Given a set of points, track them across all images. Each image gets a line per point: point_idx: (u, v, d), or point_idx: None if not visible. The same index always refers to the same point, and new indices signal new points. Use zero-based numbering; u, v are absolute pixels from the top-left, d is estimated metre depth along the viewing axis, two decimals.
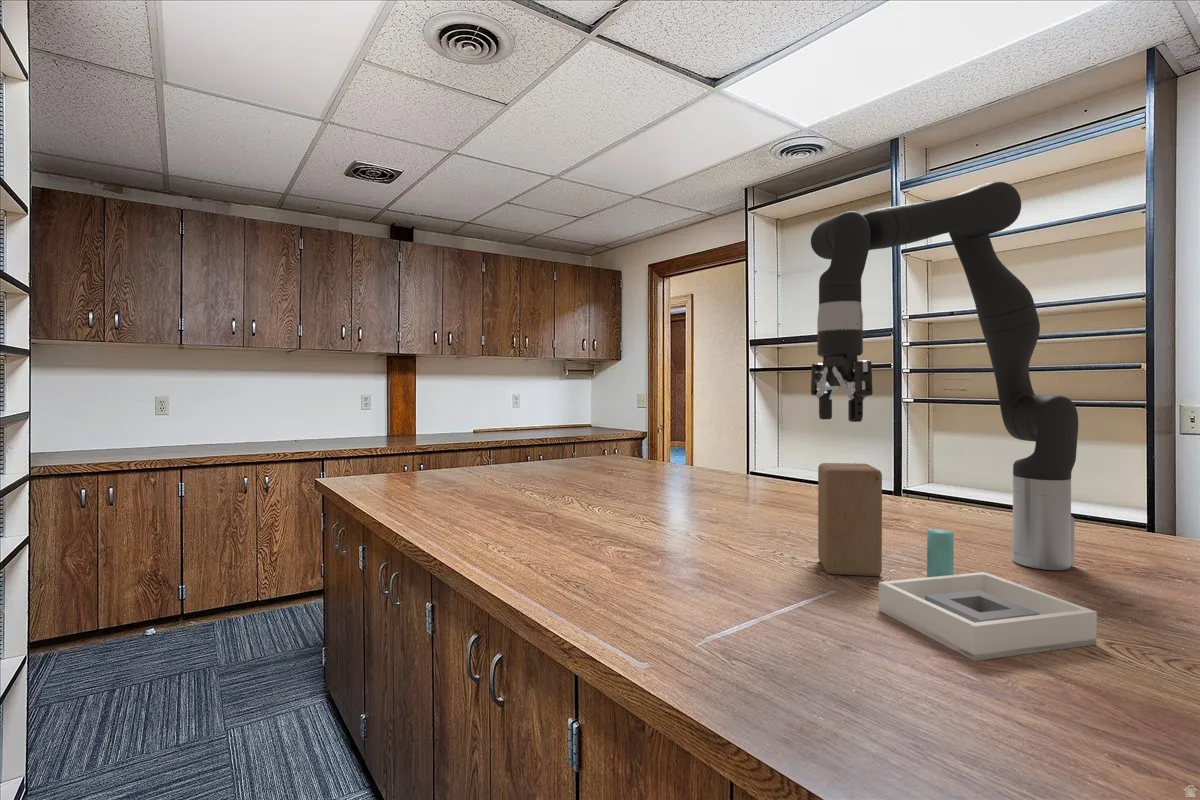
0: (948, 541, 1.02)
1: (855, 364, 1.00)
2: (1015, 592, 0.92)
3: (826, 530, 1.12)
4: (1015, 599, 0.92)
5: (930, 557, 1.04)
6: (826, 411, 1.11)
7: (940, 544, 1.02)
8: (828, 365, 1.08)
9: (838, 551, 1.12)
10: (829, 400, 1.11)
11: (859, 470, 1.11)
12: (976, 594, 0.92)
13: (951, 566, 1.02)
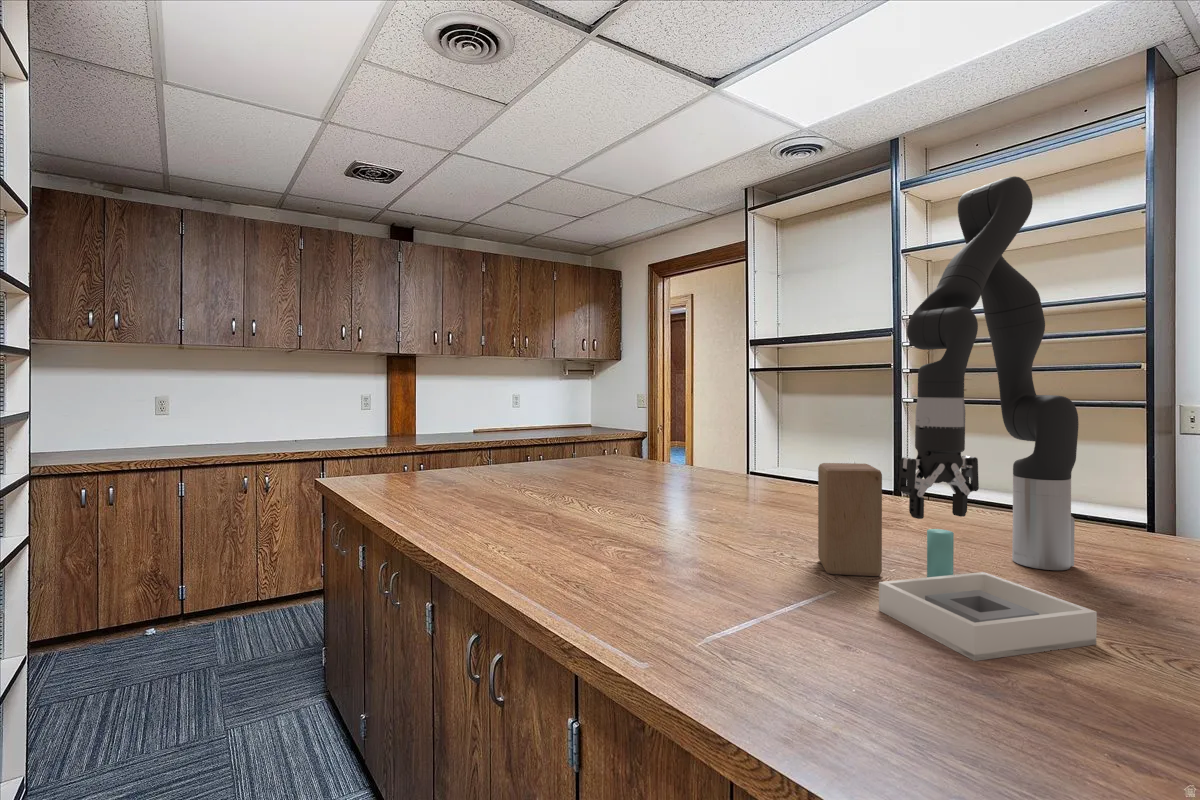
0: (948, 541, 1.02)
1: (974, 461, 1.04)
2: (1015, 592, 0.92)
3: (826, 530, 1.12)
4: (1015, 599, 0.92)
5: (930, 557, 1.04)
6: None
7: (940, 544, 1.02)
8: (935, 461, 1.02)
9: (838, 551, 1.12)
10: None
11: (859, 470, 1.11)
12: (976, 594, 0.92)
13: (951, 566, 1.02)
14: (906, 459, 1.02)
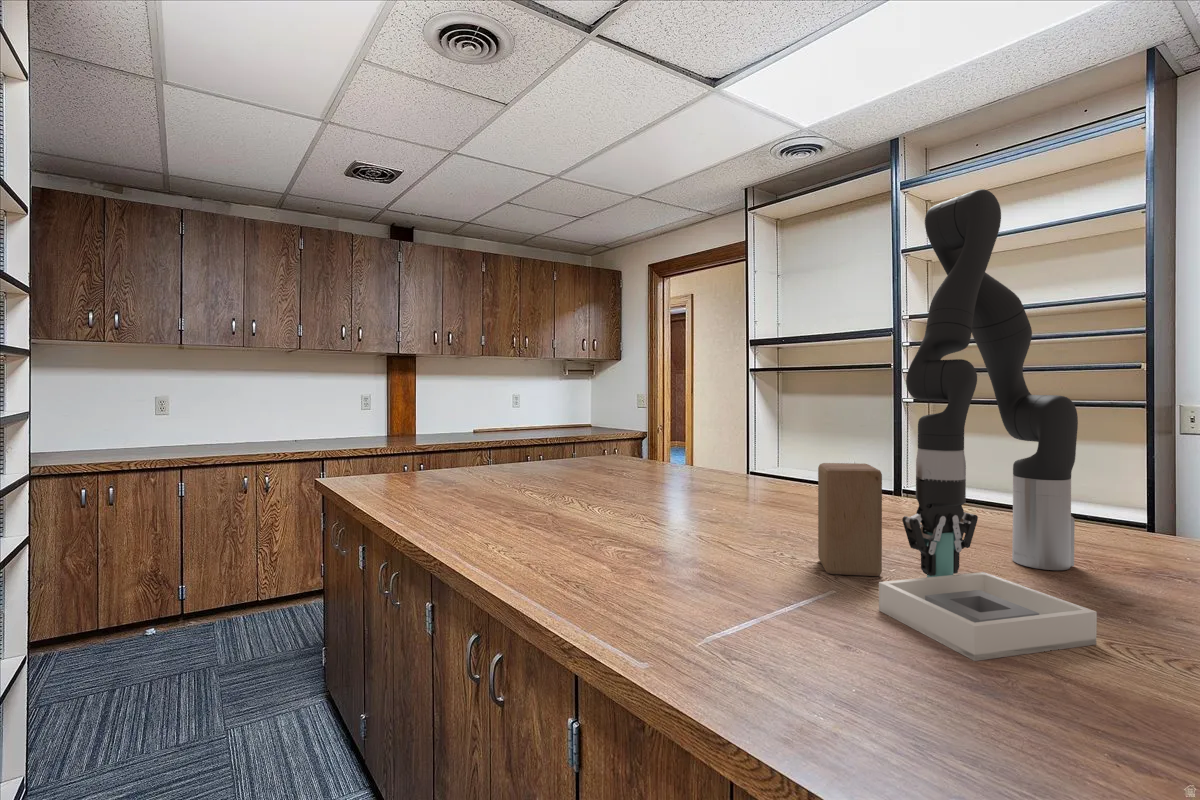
0: (948, 541, 1.02)
1: (974, 518, 1.04)
2: (1015, 592, 0.92)
3: (826, 530, 1.12)
4: (1015, 599, 0.92)
5: None
6: None
7: (940, 544, 1.02)
8: (936, 513, 1.02)
9: (838, 551, 1.12)
10: None
11: (859, 470, 1.11)
12: (976, 594, 0.92)
13: (951, 566, 1.02)
14: (908, 520, 1.02)
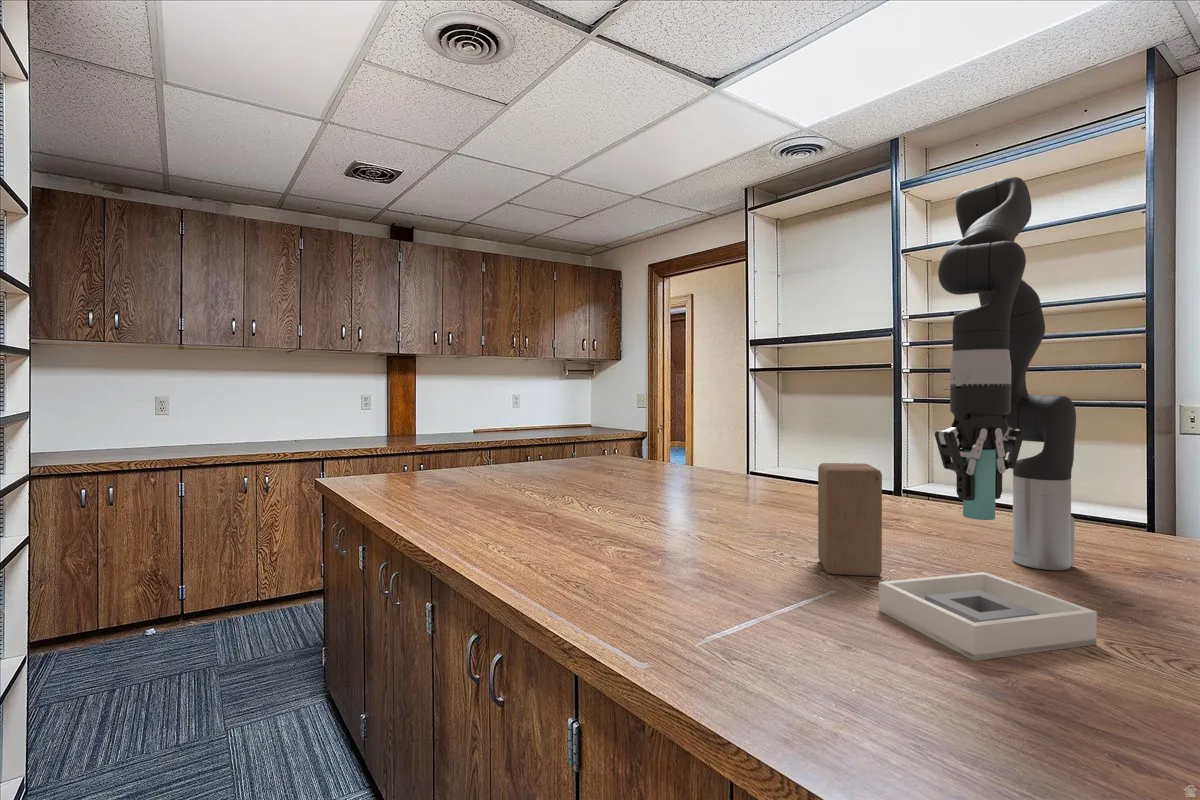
0: (989, 459, 0.86)
1: (1020, 433, 0.88)
2: (1015, 592, 0.92)
3: (826, 530, 1.12)
4: (1015, 599, 0.92)
5: None
6: None
7: (980, 463, 0.86)
8: (976, 426, 0.86)
9: (838, 551, 1.12)
10: None
11: (859, 470, 1.11)
12: (976, 594, 0.92)
13: (993, 489, 0.86)
14: (941, 434, 0.86)
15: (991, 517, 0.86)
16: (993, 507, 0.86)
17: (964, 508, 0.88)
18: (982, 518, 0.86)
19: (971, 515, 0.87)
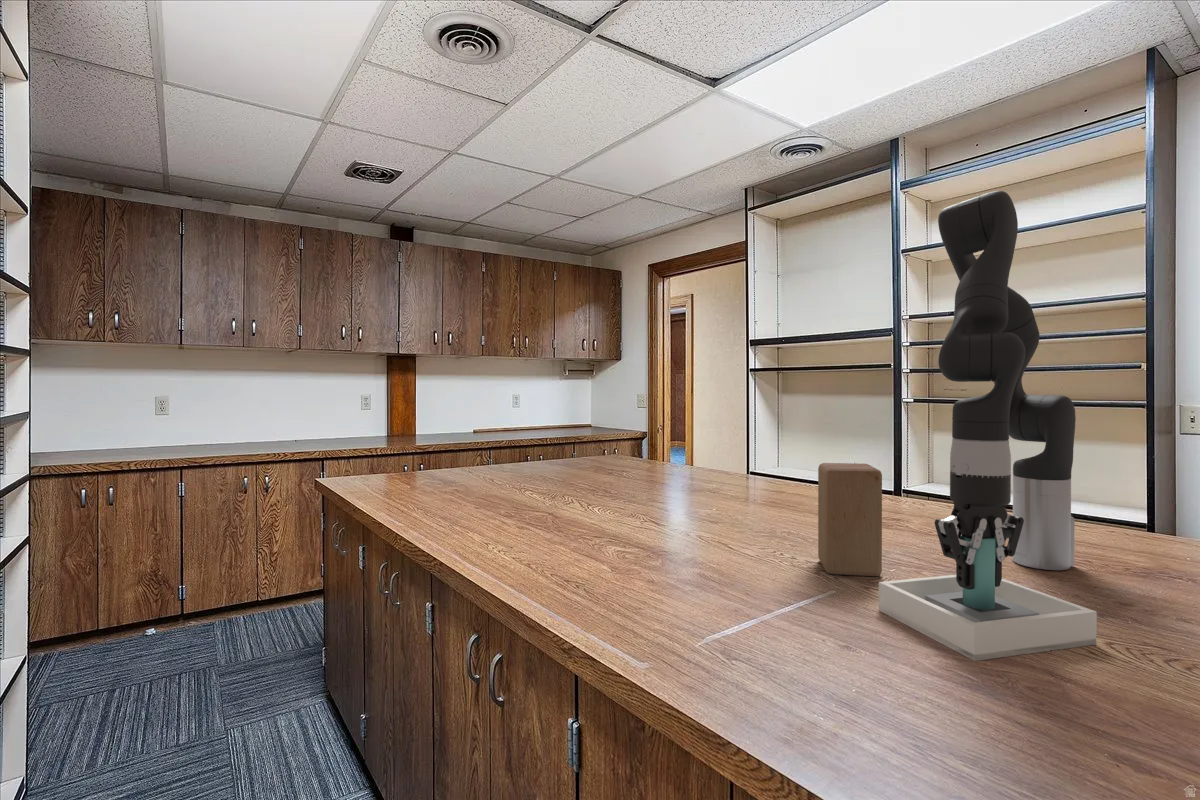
0: (989, 549, 0.86)
1: (1019, 521, 0.88)
2: (1015, 592, 0.92)
3: (826, 530, 1.12)
4: (1015, 599, 0.92)
5: None
6: None
7: (980, 552, 0.86)
8: (975, 515, 0.86)
9: (838, 551, 1.12)
10: None
11: (859, 470, 1.11)
12: None
13: (992, 578, 0.86)
14: (941, 523, 0.86)
15: (991, 606, 0.86)
16: (993, 596, 0.86)
17: (964, 595, 0.88)
18: (982, 607, 0.86)
19: (970, 603, 0.87)
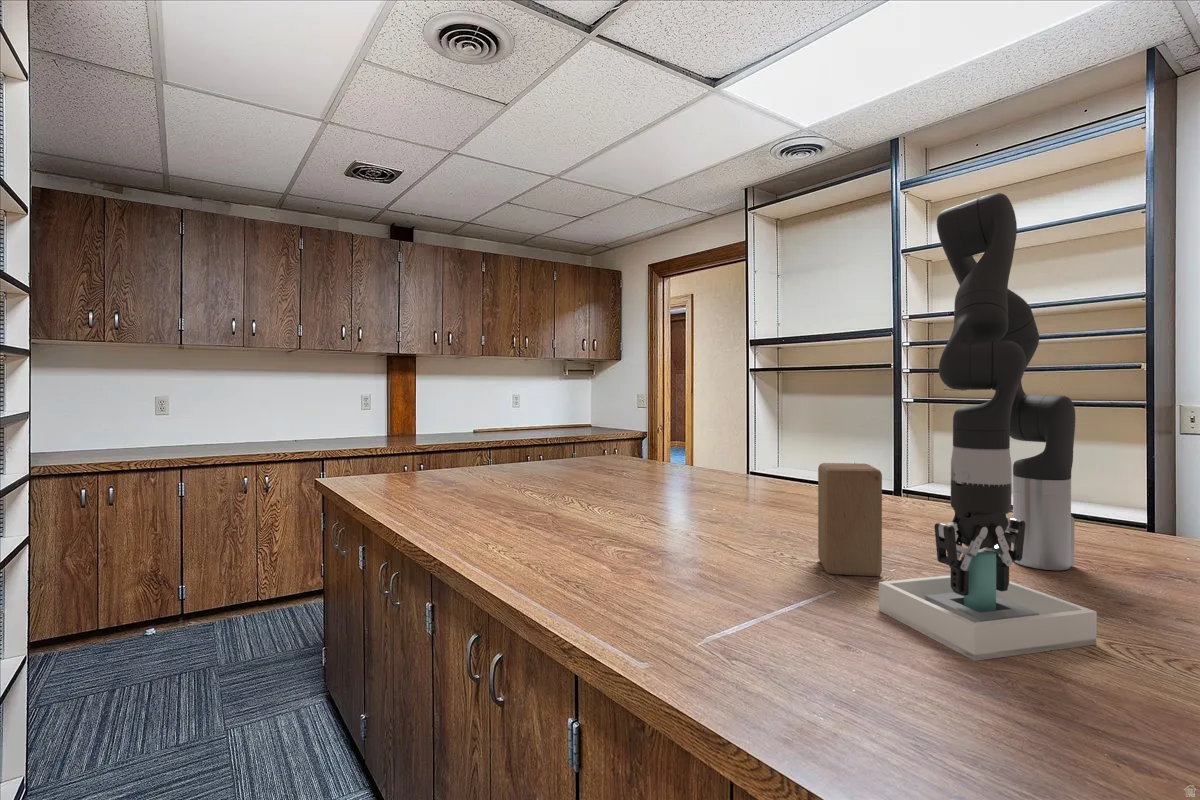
0: (990, 564, 0.86)
1: (1021, 525, 0.88)
2: (1015, 592, 0.92)
3: (826, 530, 1.12)
4: (1015, 599, 0.92)
5: None
6: None
7: (980, 568, 0.86)
8: (976, 523, 0.86)
9: (838, 551, 1.12)
10: None
11: (859, 470, 1.11)
12: None
13: (993, 594, 0.86)
14: (942, 526, 0.86)
15: None
16: None
17: None
18: None
19: None
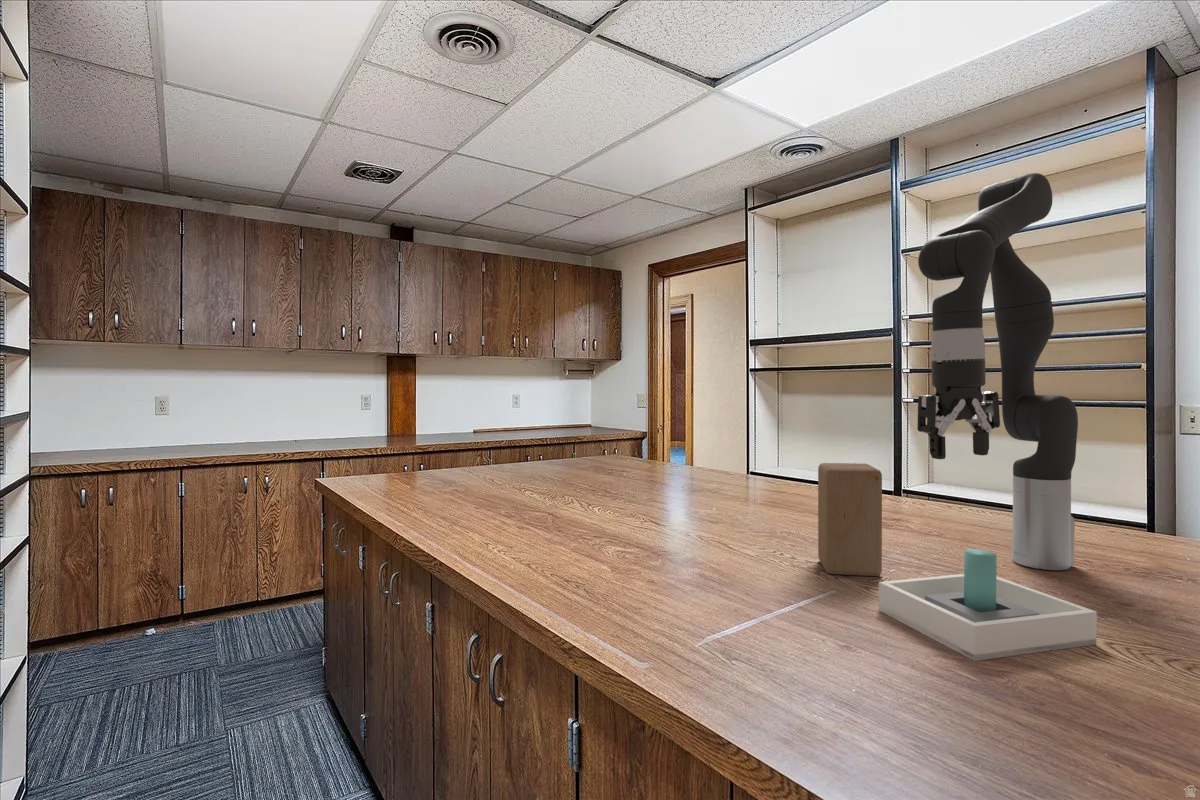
0: (990, 565, 0.86)
1: (994, 395, 0.98)
2: (1015, 592, 0.92)
3: (826, 530, 1.12)
4: (1015, 599, 0.92)
5: (969, 583, 0.87)
6: None
7: (981, 568, 0.86)
8: (955, 397, 0.96)
9: (838, 551, 1.12)
10: None
11: (859, 470, 1.11)
12: None
13: (994, 594, 0.86)
14: (925, 396, 0.96)
15: None
16: None
17: None
18: None
19: None
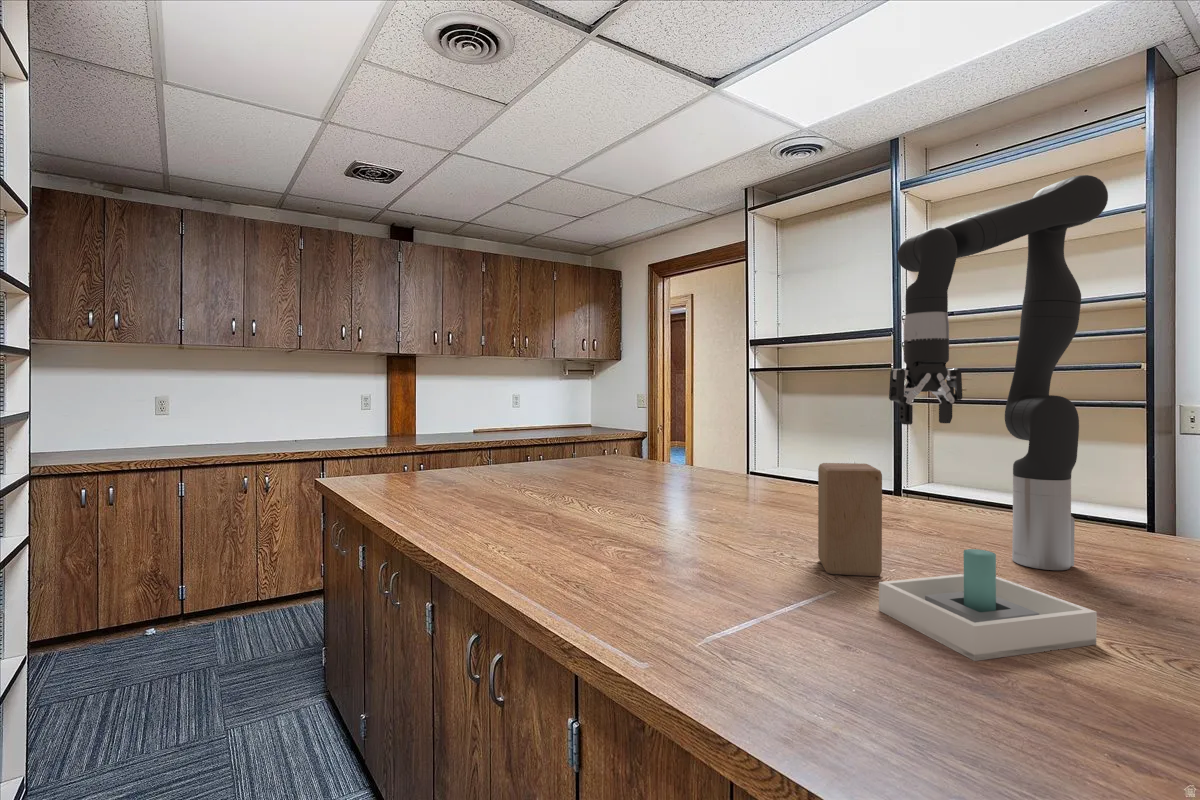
0: (989, 565, 0.86)
1: (958, 372, 1.13)
2: (1015, 592, 0.92)
3: (826, 530, 1.12)
4: (1015, 599, 0.92)
5: (968, 583, 0.87)
6: None
7: (980, 568, 0.86)
8: (922, 371, 1.12)
9: (838, 551, 1.12)
10: None
11: (859, 470, 1.11)
12: None
13: (993, 594, 0.86)
14: (896, 370, 1.12)
15: None
16: None
17: None
18: None
19: None
